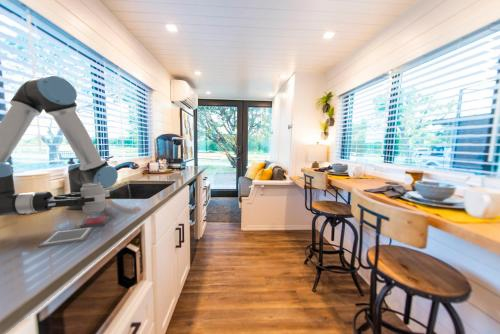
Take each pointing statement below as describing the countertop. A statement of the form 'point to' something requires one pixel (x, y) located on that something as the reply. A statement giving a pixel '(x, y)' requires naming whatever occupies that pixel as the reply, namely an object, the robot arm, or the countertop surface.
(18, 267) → the countertop surface
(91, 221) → the ink pad
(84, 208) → the grey upright rounded block
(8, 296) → the countertop surface
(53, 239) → the board
